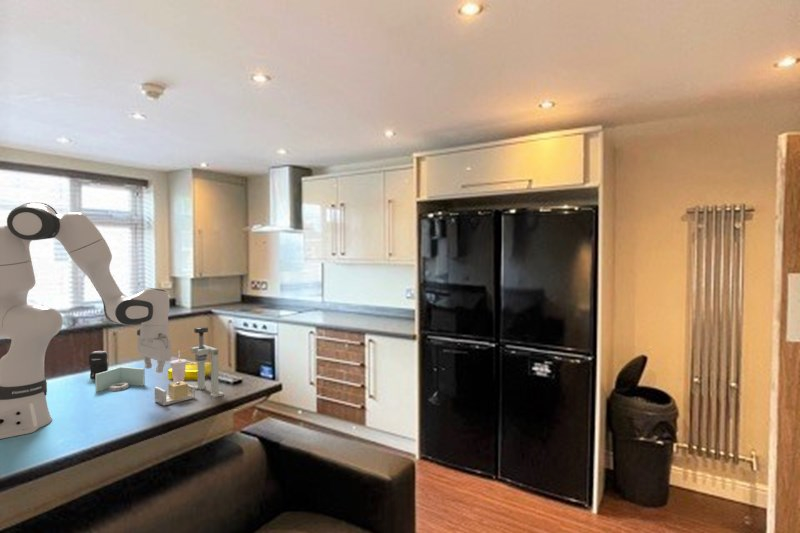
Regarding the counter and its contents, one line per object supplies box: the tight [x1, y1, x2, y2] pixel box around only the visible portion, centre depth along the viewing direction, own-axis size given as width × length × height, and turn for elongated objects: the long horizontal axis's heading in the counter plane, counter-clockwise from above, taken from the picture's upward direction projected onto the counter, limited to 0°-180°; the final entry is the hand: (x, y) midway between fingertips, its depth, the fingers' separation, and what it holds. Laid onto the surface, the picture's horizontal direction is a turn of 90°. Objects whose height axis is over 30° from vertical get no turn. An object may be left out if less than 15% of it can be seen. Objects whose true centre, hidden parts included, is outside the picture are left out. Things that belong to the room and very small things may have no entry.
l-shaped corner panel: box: [94, 366, 146, 393], centre depth 181 cm, size 12×12×8 cm
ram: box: [193, 326, 209, 362], centre depth 175 cm, size 5×5×12 cm
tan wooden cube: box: [167, 381, 189, 399], centre depth 169 cm, size 5×5×5 cm
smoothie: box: [169, 350, 188, 383], centre depth 187 cm, size 6×6×14 cm
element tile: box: [167, 361, 211, 381], centre depth 201 cm, size 15×15×5 cm
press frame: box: [190, 344, 225, 399], centre depth 176 cm, size 7×17×18 cm, turn 50°
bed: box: [154, 383, 196, 407], centre depth 168 cm, size 12×8×5 cm, turn 140°
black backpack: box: [88, 350, 110, 379], centre depth 195 cm, size 7×4×11 cm, turn 100°
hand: (153, 370), depth 162 cm, fingers open, 8 cm apart
